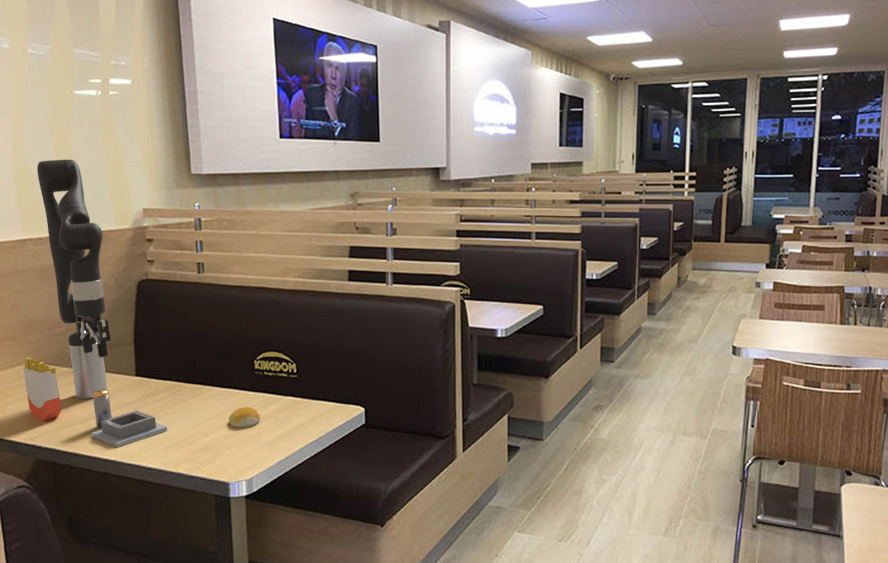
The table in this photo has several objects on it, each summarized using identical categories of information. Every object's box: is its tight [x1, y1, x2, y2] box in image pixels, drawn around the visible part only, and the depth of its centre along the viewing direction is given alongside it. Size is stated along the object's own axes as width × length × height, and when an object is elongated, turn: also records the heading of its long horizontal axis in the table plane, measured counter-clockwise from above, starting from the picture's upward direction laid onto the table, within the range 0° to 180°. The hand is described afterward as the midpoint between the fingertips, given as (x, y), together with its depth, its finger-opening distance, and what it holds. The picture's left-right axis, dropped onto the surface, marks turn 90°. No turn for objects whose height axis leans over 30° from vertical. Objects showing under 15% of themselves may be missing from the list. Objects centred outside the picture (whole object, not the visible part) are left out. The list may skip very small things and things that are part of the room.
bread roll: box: [228, 406, 261, 428], centre depth 201 cm, size 8×9×4 cm
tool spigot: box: [92, 389, 113, 430], centre depth 202 cm, size 4×4×10 cm
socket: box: [91, 410, 168, 448], centre depth 195 cm, size 14×14×4 cm
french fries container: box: [23, 356, 62, 422], centre depth 211 cm, size 5×11×18 cm, turn 54°
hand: (95, 354), depth 199 cm, fingers open, 8 cm apart
